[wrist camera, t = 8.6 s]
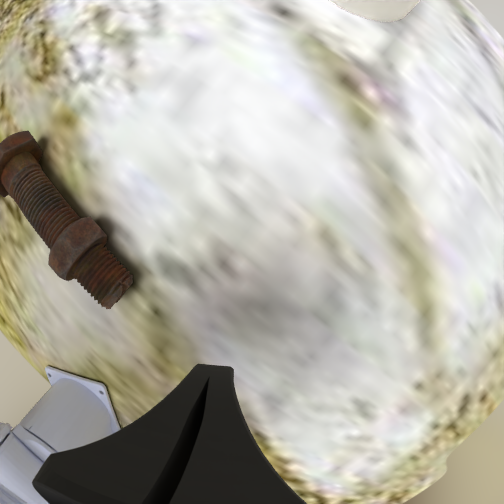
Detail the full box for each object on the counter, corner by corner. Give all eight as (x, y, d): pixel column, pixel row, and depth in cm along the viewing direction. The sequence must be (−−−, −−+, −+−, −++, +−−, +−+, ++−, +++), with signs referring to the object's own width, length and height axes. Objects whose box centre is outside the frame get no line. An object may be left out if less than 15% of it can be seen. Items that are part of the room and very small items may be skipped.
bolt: (136, 283, 21) (33, 164, 18) (158, 254, 18) (40, 121, 15) (90, 333, 17) (-16, 194, 14) (101, 313, 13) (-19, 150, 11)
